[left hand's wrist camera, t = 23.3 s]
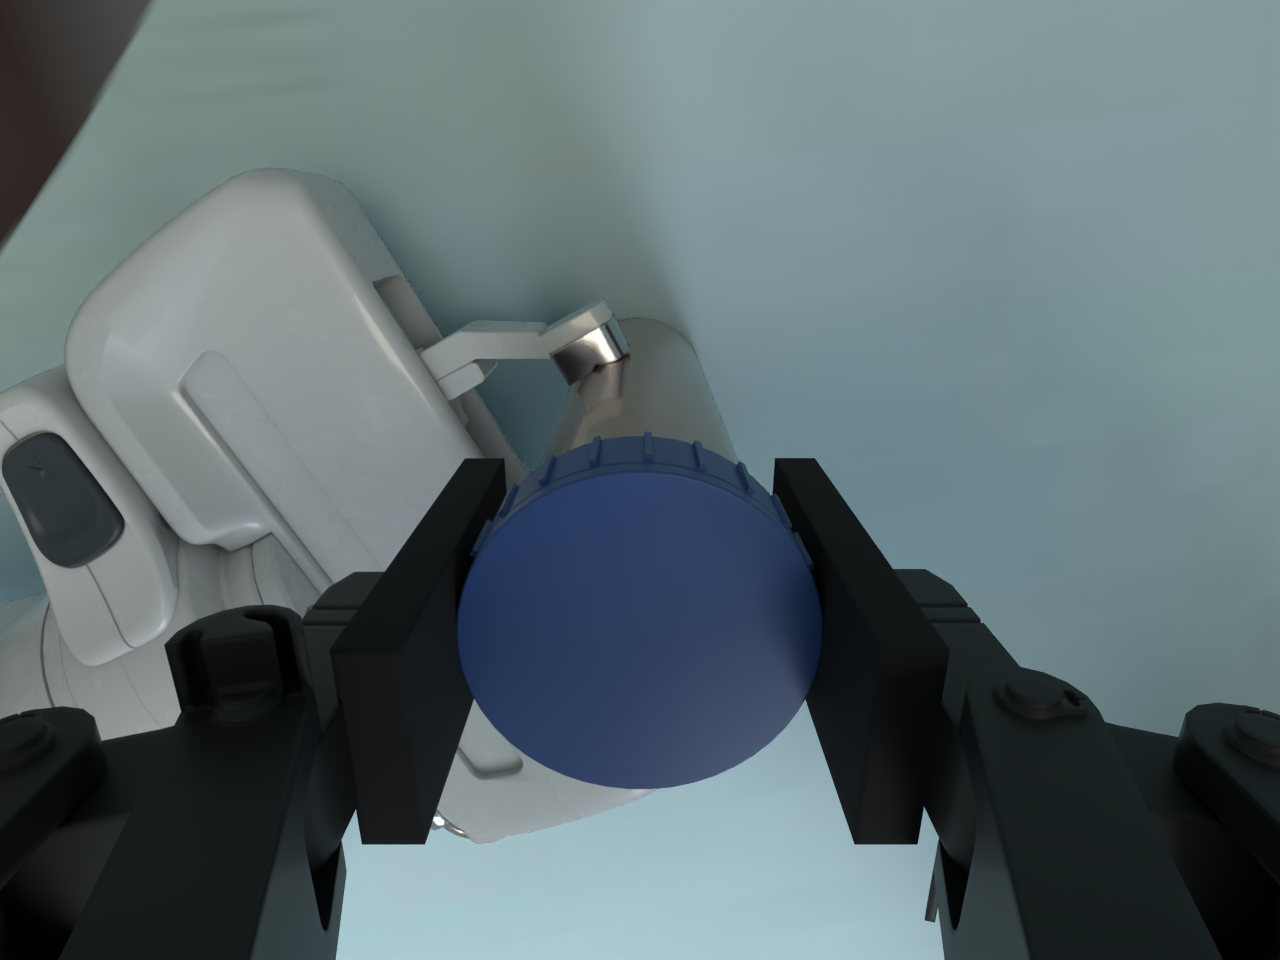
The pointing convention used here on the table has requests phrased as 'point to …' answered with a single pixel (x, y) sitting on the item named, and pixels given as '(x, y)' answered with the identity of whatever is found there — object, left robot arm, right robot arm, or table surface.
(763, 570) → the lid
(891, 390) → the table surface
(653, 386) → the jar
